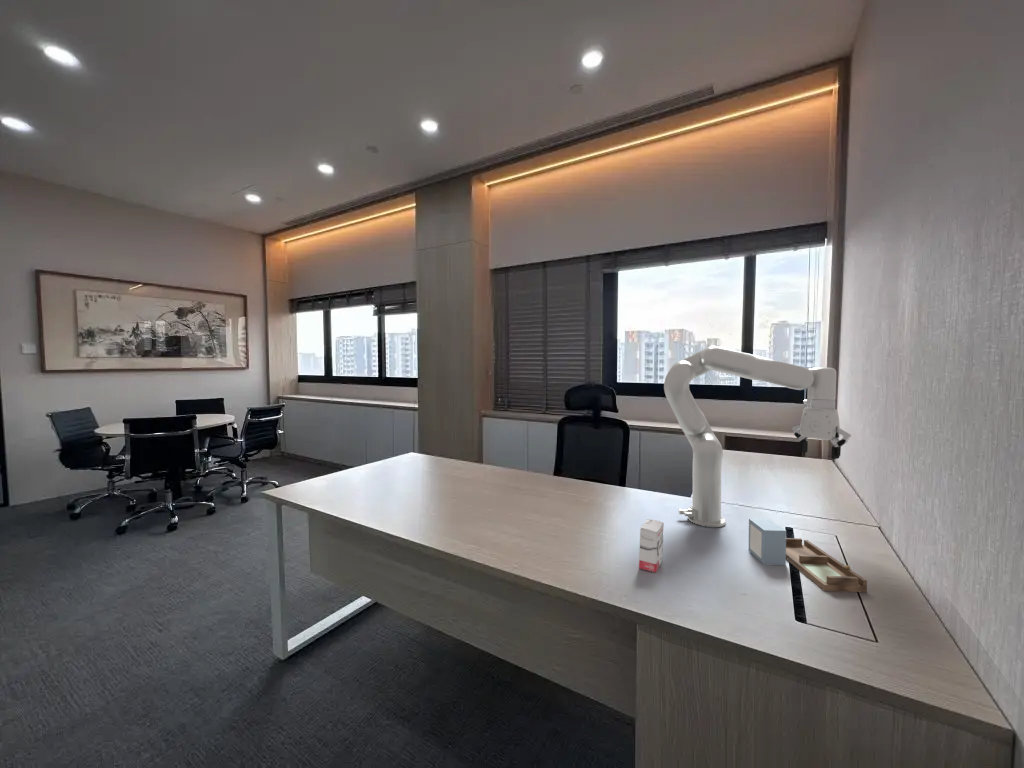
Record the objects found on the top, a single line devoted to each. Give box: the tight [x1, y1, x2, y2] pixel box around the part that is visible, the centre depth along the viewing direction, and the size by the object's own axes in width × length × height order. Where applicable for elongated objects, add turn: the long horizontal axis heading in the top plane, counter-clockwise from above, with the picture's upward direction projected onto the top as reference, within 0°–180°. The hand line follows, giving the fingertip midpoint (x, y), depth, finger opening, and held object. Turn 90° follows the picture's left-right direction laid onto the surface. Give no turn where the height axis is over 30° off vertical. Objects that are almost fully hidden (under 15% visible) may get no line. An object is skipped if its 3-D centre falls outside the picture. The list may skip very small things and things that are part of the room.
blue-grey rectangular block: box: [748, 518, 787, 566], centre depth 123 cm, size 6×9×10 cm
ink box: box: [638, 519, 665, 574], centre depth 119 cm, size 9×5×12 cm, turn 148°
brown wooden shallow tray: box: [786, 537, 868, 593], centre depth 116 cm, size 10×24×4 cm, turn 175°
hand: (818, 455), depth 138 cm, fingers open, 9 cm apart
